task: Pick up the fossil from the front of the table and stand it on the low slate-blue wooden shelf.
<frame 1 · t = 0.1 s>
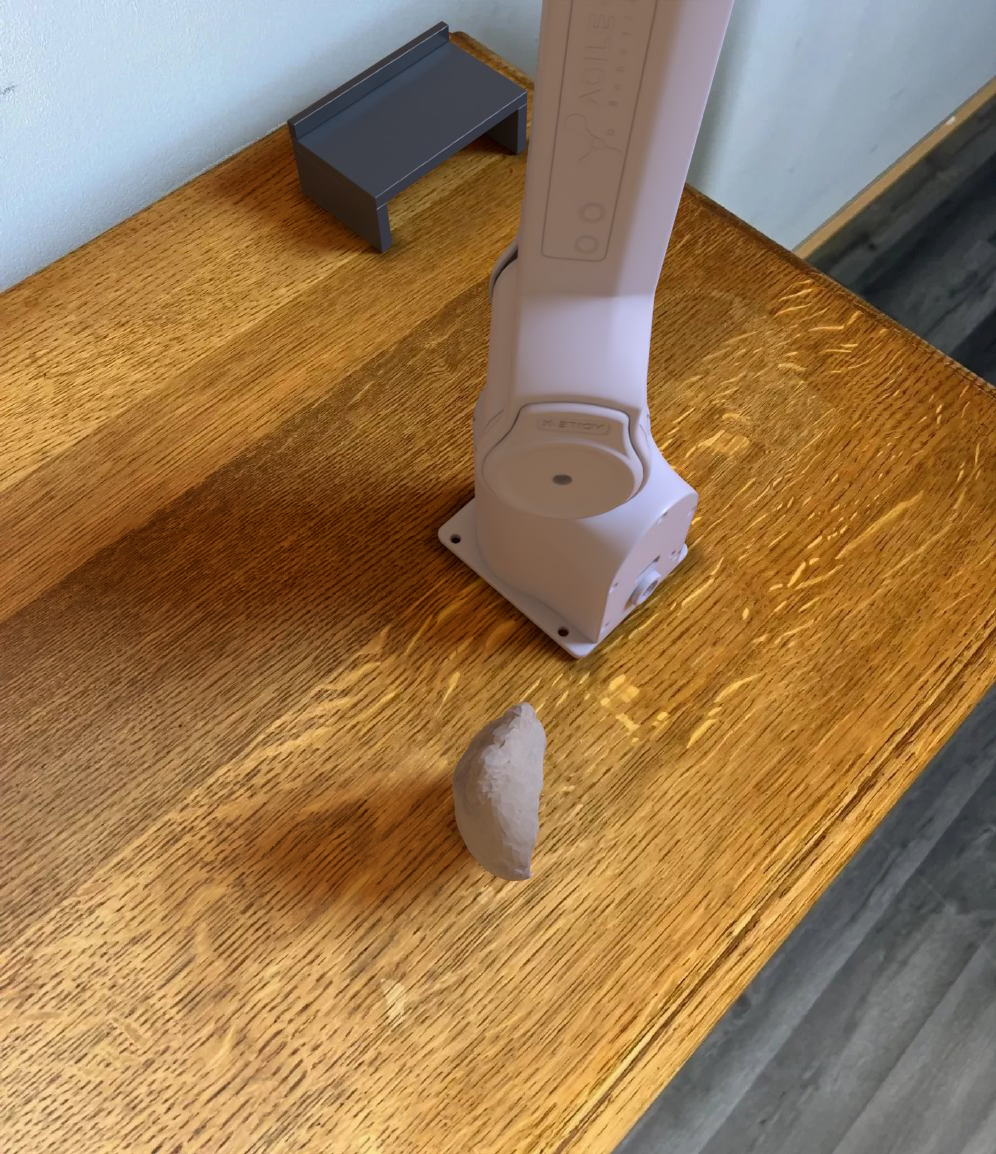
fossil: (497, 830, 43), on the table
shelf: (415, 170, 61), on the table
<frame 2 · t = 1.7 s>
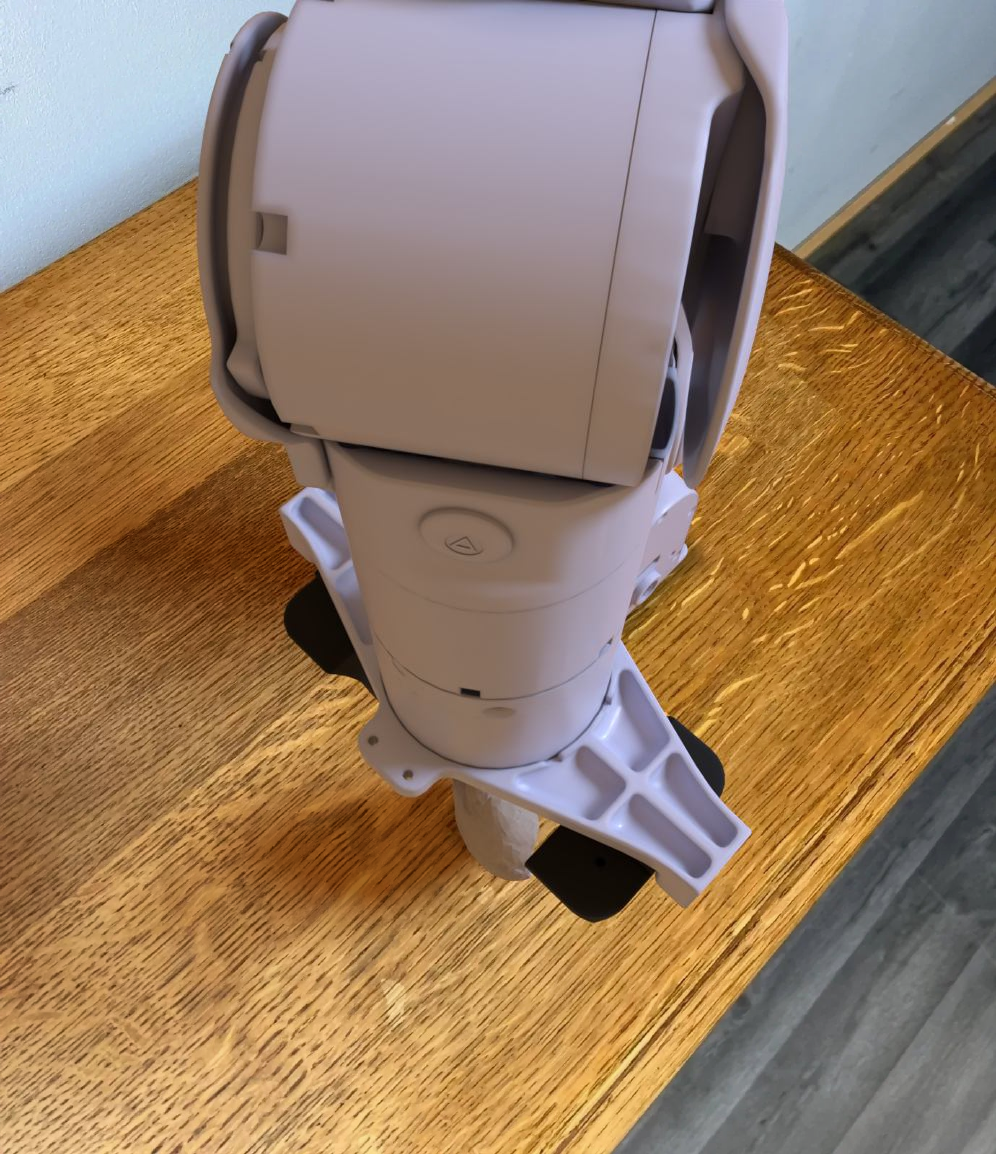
hand: (495, 768, 33), 10 cm above the table, tool pointing down, fingers open, 7 cm apart
nothing on the table moved.
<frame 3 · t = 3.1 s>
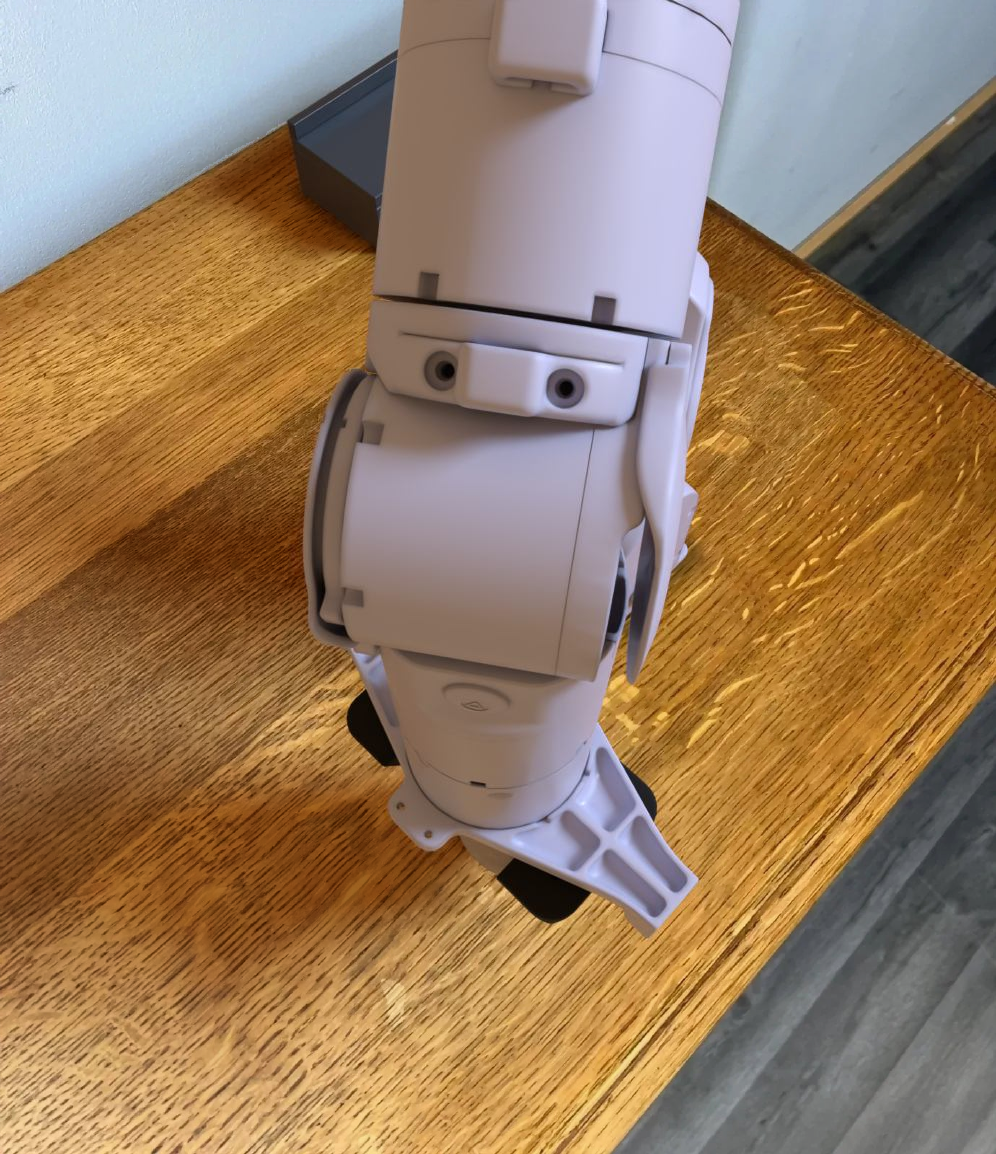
hand: (497, 810, 39), 3 cm above the table, tool pointing down, fingers closed on fossil, 5 cm apart
fossil: (494, 827, 43), on the table, touching gripper
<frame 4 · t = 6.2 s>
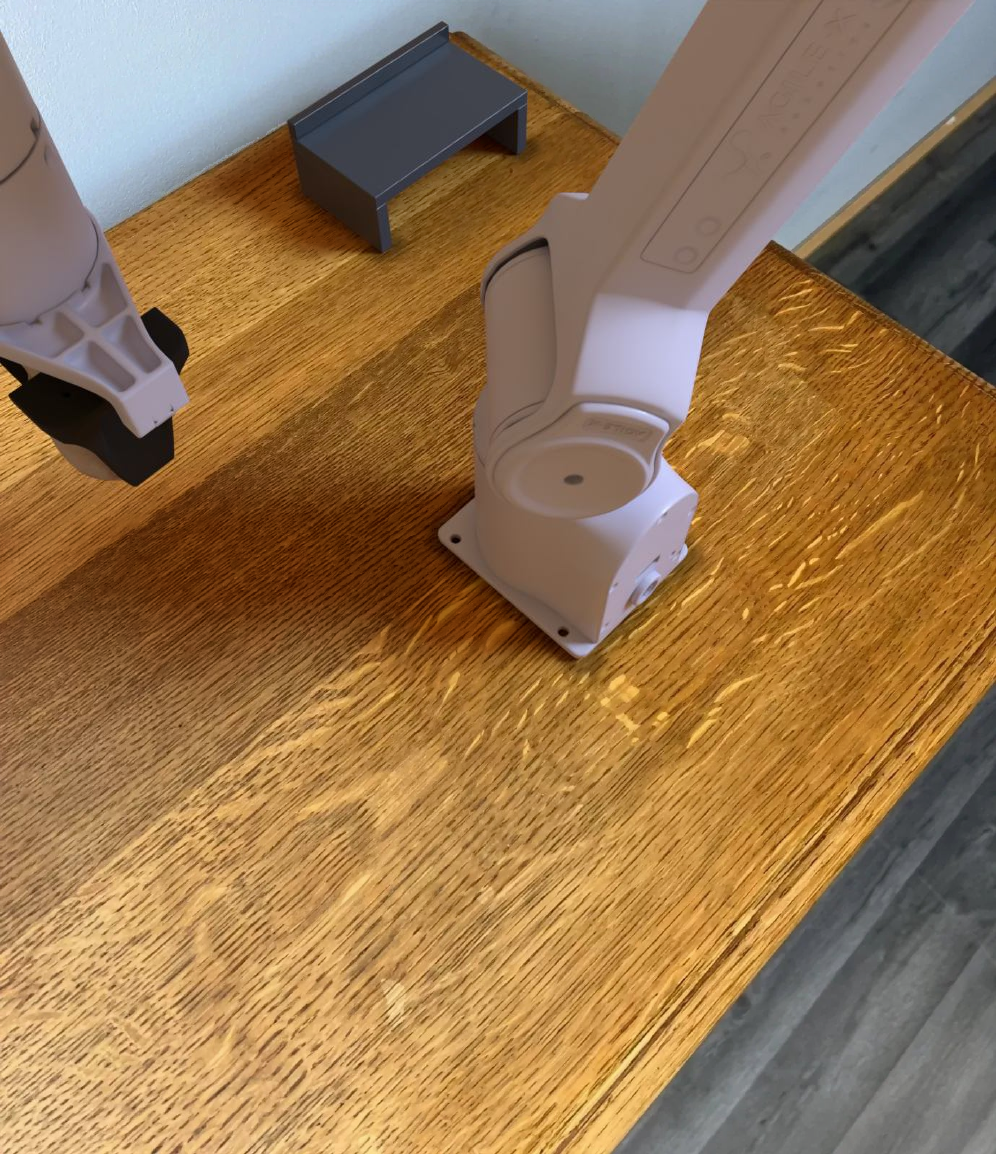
hand: (107, 426, 40), 10 cm above the table, tool pointing down, fingers closed on fossil, 5 cm apart
fossil: (132, 473, 43), point 6 cm above the table, touching gripper
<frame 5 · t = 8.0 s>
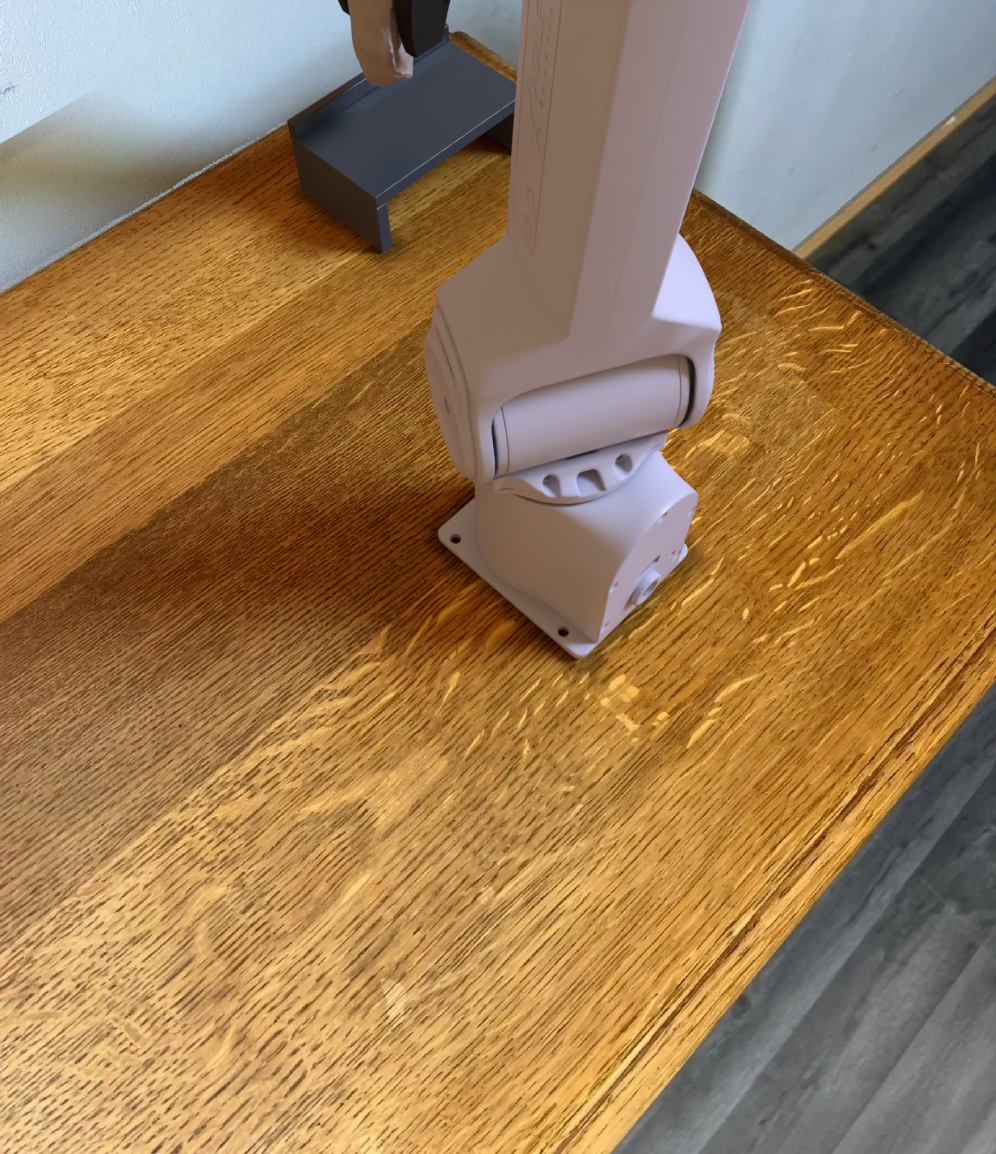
hand: (391, 24, 51), 10 cm above the table, tool pointing down, fingers closed on fossil, 4 cm apart
fossil: (390, 91, 54), point 6 cm above the table, touching gripper
when the fingers open (7 cm above the table, at t = 9.3 s): fossil stays where it is, resting on shelf.
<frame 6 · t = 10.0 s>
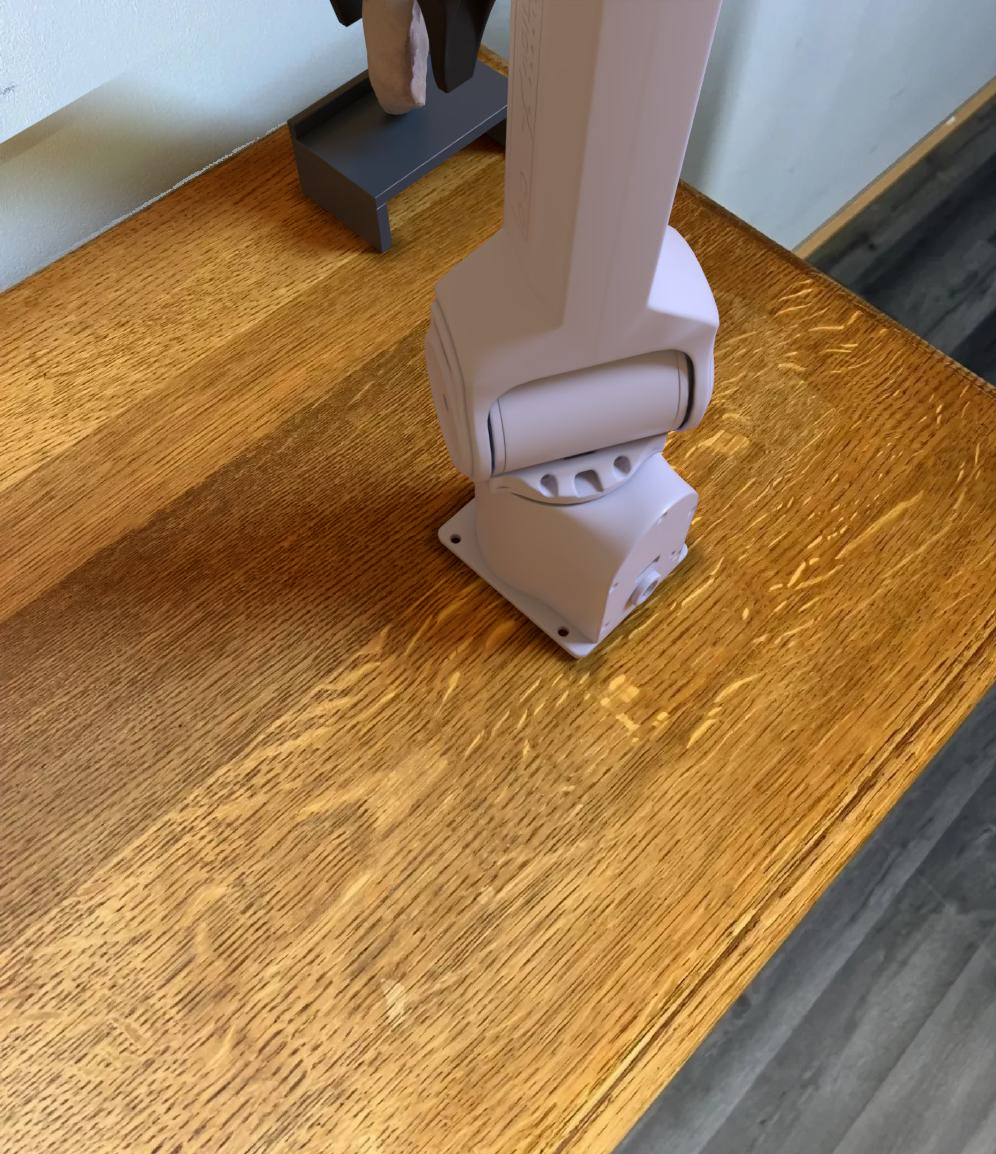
hand: (405, 48, 53), 8 cm above the table, tool pointing down, fingers open, 7 cm apart
fossil: (404, 118, 57), point 4 cm above the table, touching shelf
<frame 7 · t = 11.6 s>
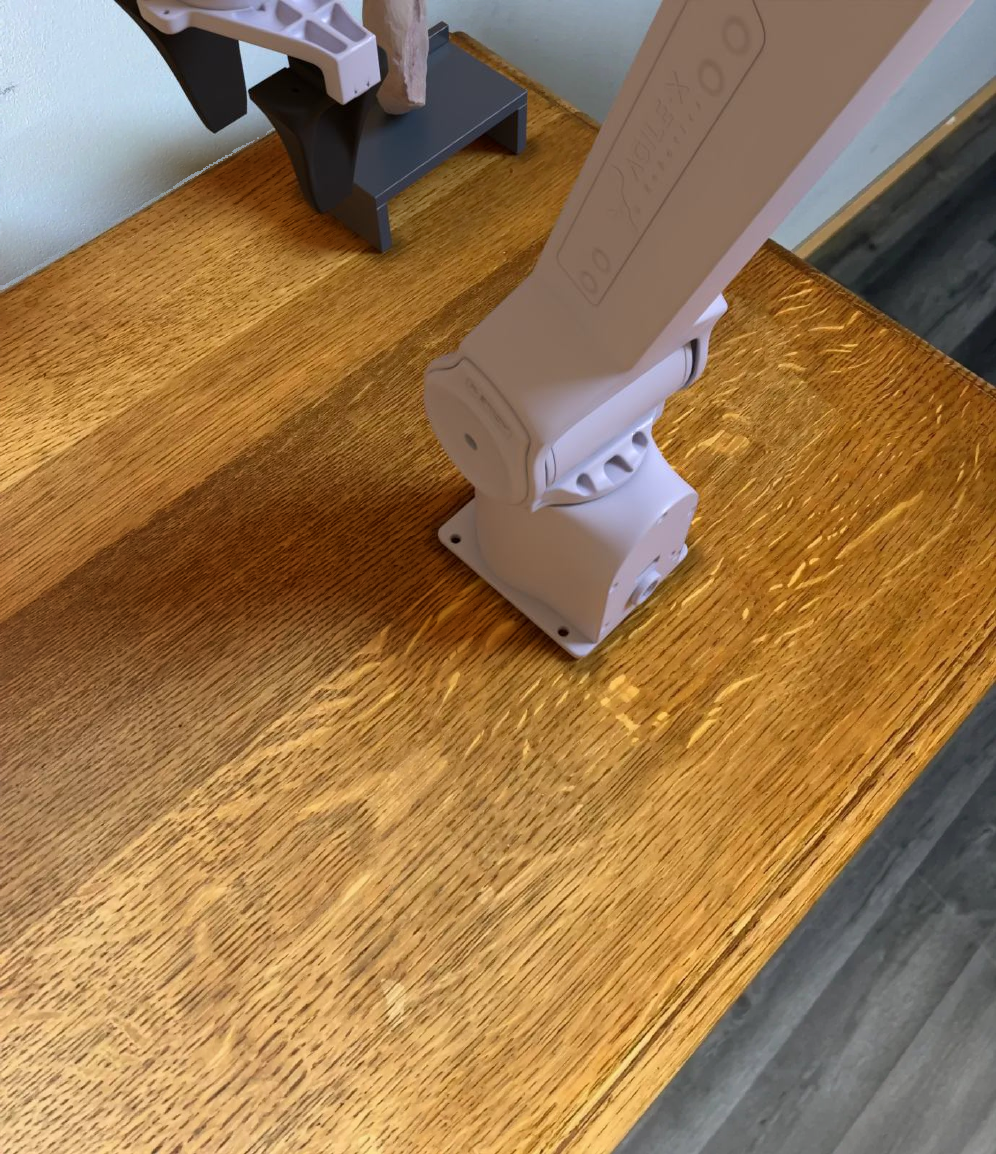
hand: (277, 159, 47), 10 cm above the table, tool pointing down, fingers open, 7 cm apart
nothing on the table moved.
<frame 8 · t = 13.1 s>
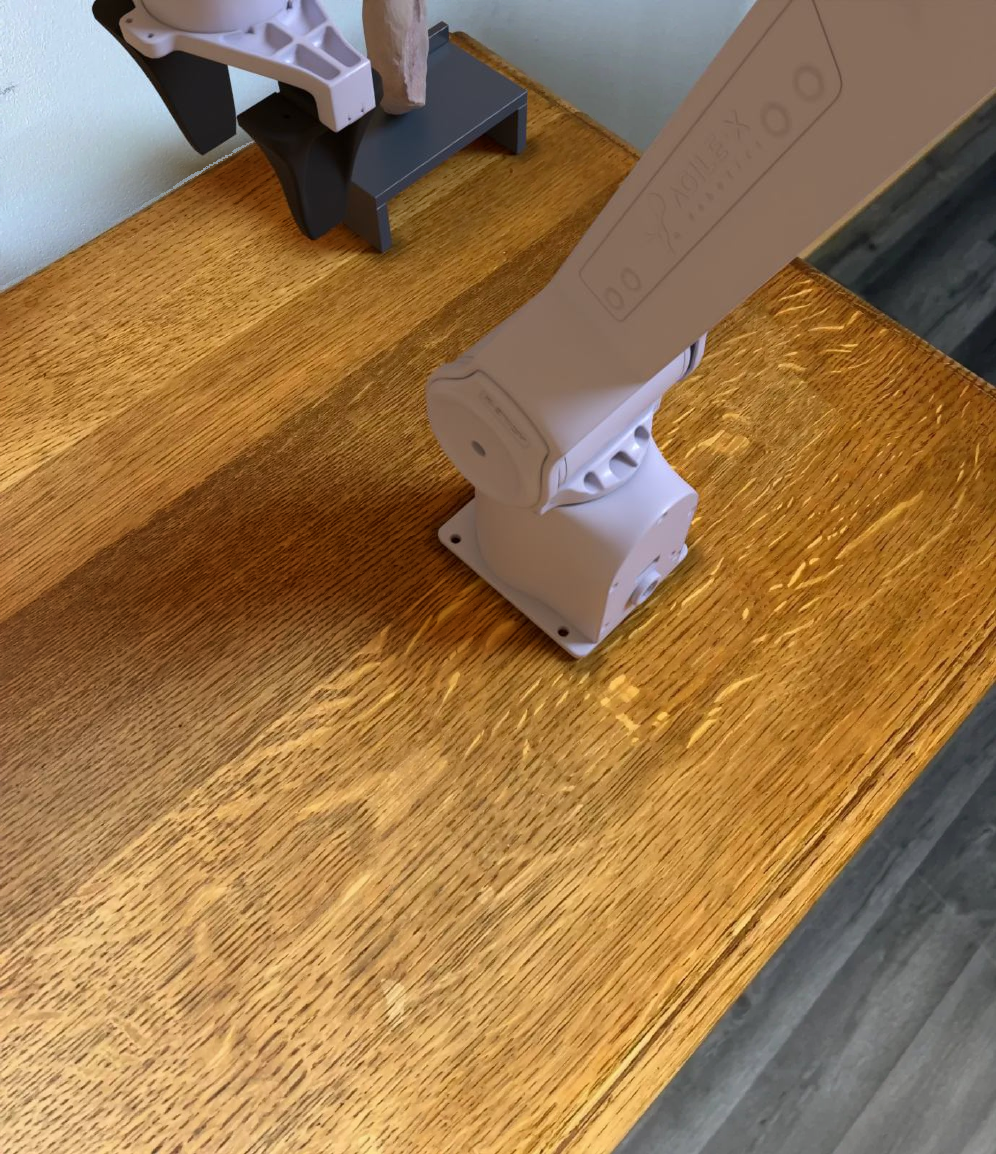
hand: (268, 182, 45), 10 cm above the table, tool pointing down, fingers open, 7 cm apart
nothing on the table moved.
at the end: fossil inside the target area on the shelf (0.4 cm from its centre), point 3.8 cm above the shelf's base; fossil tilted 0°; the gripper is holding nothing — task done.
